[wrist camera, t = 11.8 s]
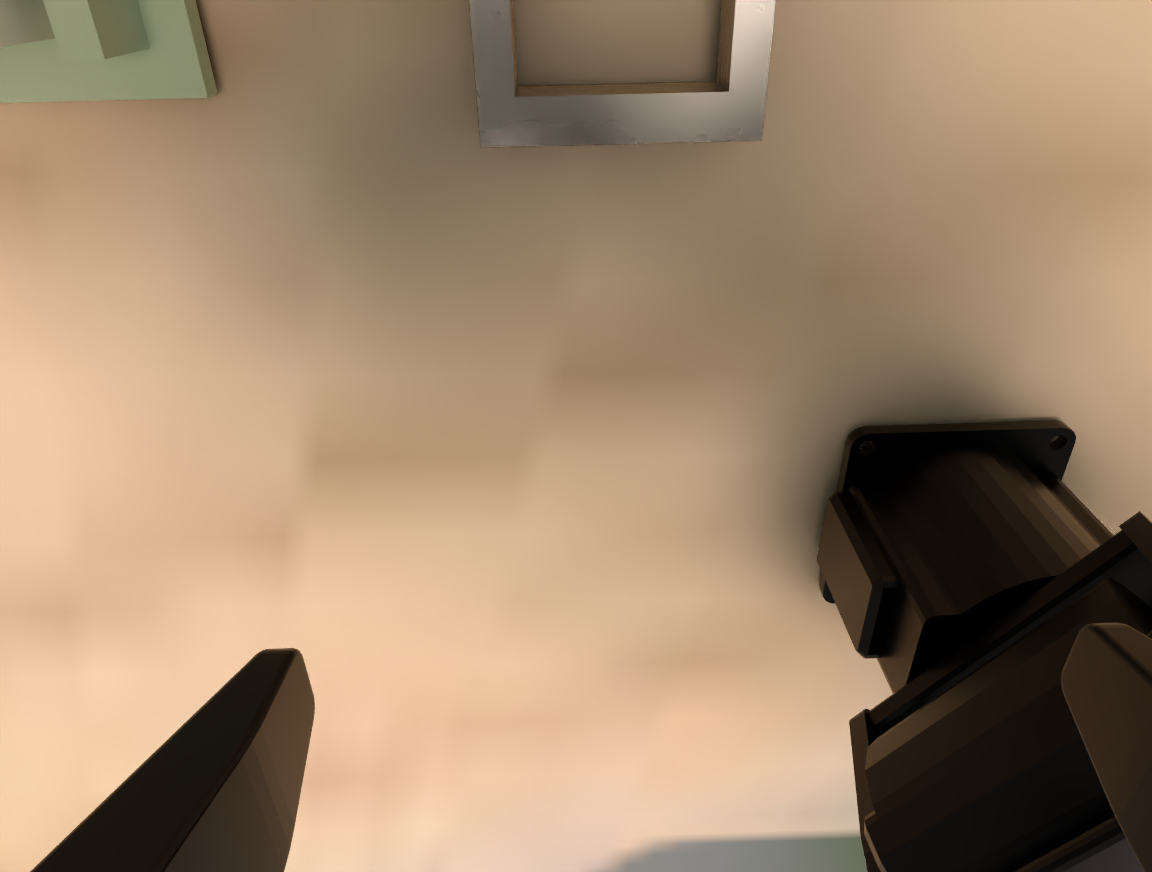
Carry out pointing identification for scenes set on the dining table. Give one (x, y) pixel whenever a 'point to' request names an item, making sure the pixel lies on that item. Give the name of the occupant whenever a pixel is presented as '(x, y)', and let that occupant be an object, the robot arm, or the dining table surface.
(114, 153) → the dining table surface
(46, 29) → the long rectangular block
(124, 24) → the holder
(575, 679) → the dining table surface
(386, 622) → the dining table surface
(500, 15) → the frame
